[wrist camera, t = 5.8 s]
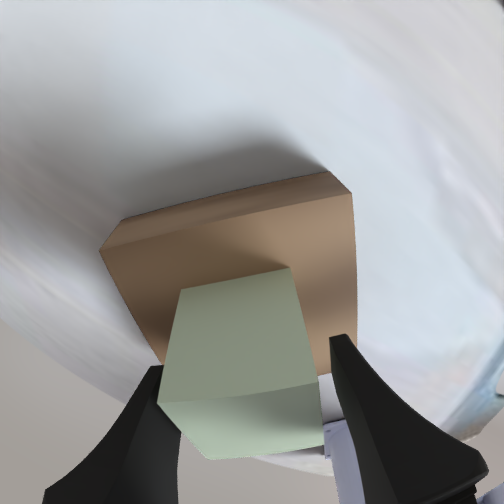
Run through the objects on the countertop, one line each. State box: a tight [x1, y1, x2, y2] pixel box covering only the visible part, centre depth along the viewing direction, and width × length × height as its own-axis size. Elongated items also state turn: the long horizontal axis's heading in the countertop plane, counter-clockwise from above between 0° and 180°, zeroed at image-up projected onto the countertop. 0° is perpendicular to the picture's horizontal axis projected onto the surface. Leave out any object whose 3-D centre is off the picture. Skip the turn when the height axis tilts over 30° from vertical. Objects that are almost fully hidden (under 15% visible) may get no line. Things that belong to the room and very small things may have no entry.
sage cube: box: [157, 268, 324, 460], centre depth 11 cm, size 4×4×6 cm
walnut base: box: [99, 171, 357, 376], centre depth 15 cm, size 10×10×3 cm
